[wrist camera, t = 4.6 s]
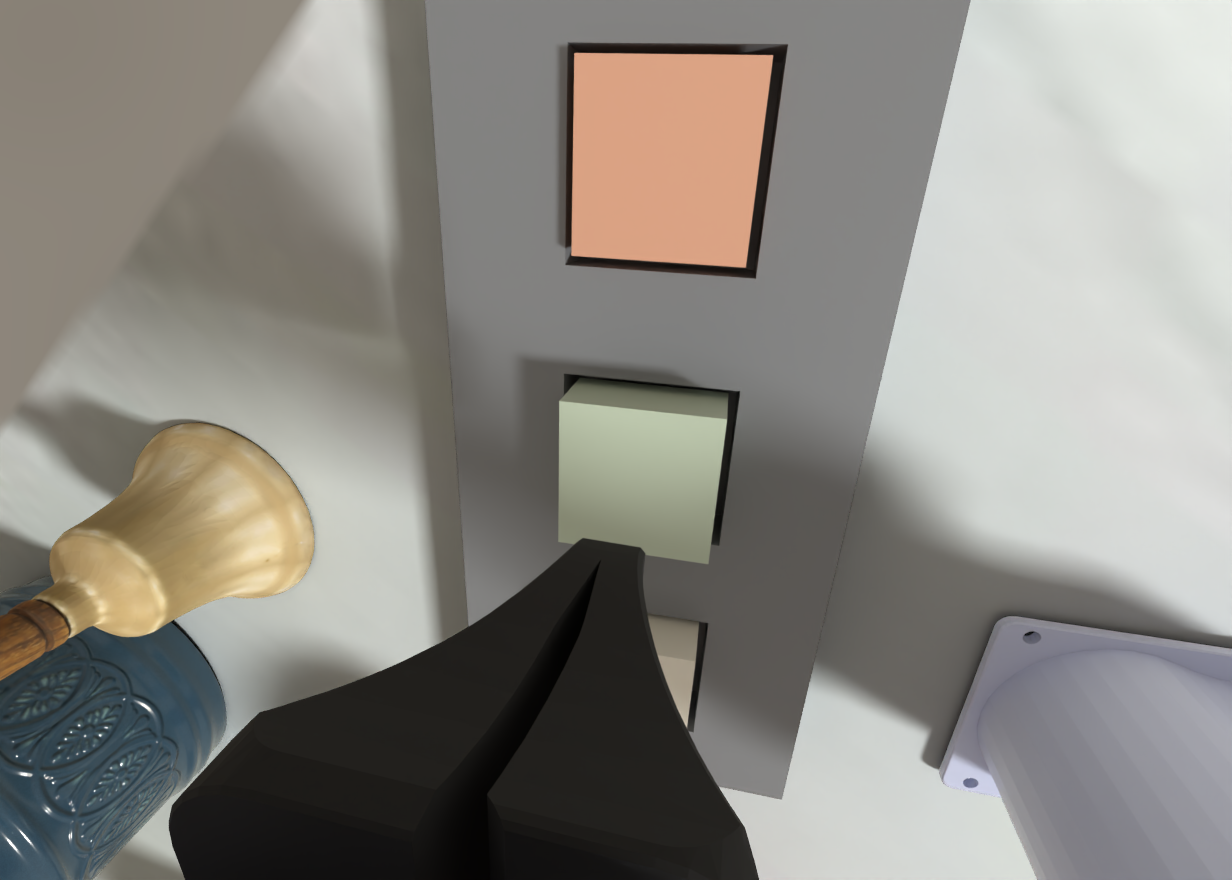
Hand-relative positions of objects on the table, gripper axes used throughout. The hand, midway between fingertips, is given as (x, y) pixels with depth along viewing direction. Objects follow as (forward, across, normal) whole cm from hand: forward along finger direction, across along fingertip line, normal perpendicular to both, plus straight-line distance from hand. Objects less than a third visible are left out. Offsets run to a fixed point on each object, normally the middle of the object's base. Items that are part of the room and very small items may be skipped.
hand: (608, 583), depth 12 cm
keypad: (+8, 0, 0) cm, 8 cm away
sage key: (+6, 0, 0) cm, 6 cm away
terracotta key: (+7, 0, -8) cm, 11 cm away
